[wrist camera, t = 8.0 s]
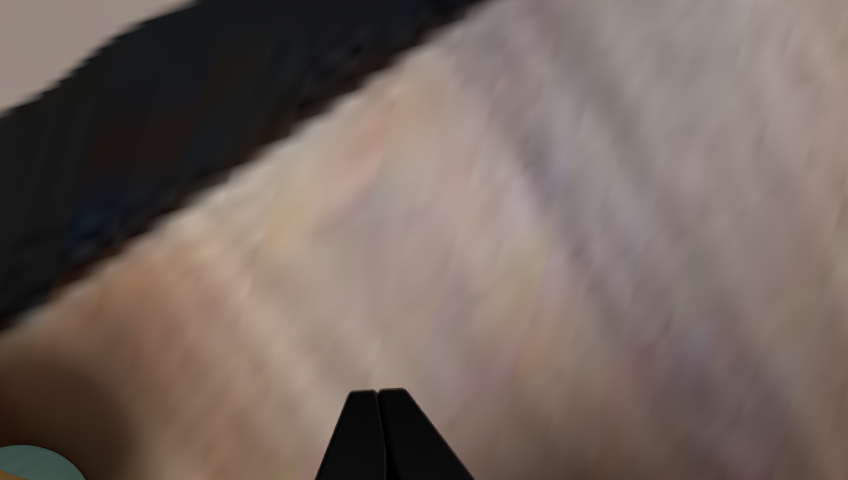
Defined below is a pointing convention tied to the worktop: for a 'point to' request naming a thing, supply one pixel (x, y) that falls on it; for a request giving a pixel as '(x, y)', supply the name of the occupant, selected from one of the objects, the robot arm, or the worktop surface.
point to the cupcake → (35, 464)
